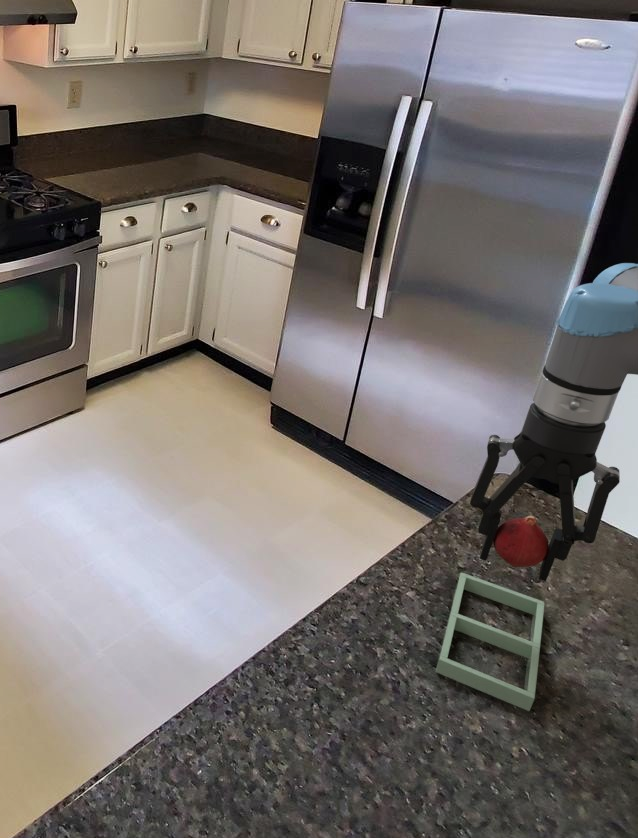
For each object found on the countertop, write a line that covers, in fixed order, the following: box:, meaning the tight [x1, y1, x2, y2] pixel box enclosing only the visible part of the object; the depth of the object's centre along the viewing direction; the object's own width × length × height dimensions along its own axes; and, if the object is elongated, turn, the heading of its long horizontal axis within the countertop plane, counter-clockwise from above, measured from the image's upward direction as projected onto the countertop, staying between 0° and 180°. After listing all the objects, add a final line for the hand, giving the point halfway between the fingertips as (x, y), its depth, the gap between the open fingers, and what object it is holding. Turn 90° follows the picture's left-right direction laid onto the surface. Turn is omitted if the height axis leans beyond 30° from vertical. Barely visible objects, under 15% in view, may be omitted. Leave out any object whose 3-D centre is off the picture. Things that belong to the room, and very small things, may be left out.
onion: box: [492, 515, 549, 568], centre depth 103 cm, size 6×6×8 cm
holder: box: [435, 572, 545, 712], centre depth 105 cm, size 19×10×3 cm, turn 144°
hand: (513, 563), depth 104 cm, fingers closed on onion, 6 cm apart
